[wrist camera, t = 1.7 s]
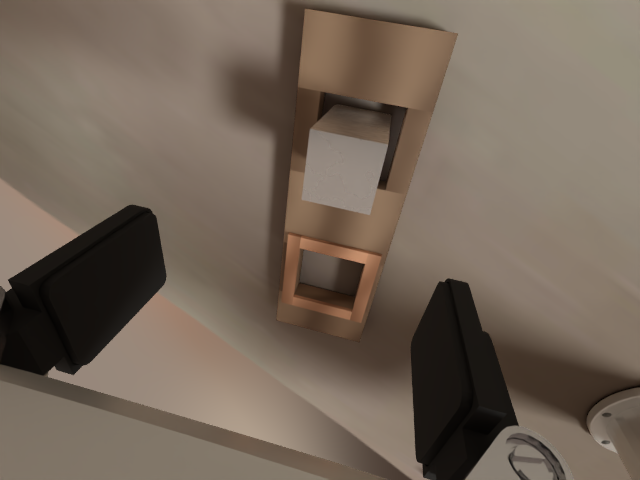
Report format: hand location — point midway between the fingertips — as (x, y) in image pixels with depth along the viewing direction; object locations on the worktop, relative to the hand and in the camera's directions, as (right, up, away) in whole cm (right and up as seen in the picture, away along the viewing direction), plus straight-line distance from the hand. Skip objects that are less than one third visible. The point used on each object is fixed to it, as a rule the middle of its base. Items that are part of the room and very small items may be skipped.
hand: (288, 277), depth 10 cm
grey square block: (+4, +10, +16) cm, 19 cm away
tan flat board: (+3, +4, +20) cm, 21 cm away
